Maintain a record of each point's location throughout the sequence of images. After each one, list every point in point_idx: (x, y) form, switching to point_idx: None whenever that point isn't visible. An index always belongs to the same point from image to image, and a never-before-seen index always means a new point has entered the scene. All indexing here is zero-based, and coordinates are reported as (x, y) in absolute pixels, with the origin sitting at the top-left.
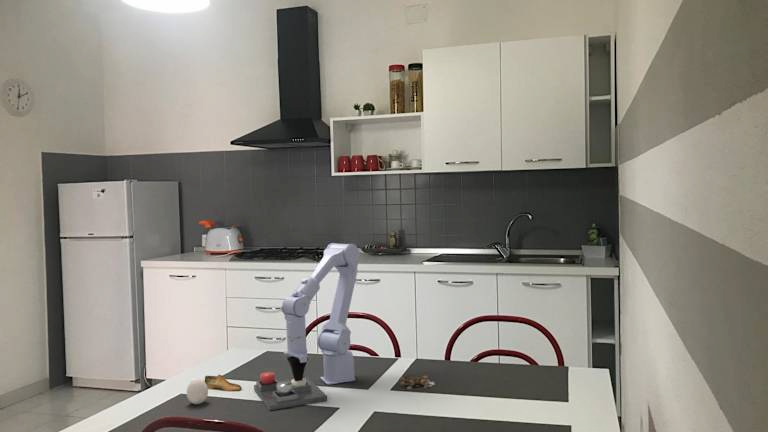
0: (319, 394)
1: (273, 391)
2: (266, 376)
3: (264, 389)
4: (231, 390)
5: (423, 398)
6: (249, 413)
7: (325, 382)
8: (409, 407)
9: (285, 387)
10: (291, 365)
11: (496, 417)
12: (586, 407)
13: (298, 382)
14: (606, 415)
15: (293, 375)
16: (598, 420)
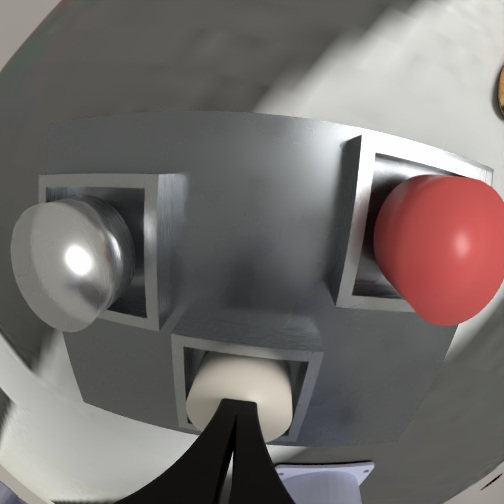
0: (104, 394)
1: (293, 223)
2: (415, 215)
3: (349, 168)
4: (502, 72)
5: (73, 480)
6: (95, 32)
7: (302, 467)
8: (31, 443)
9: (16, 255)
10: (208, 495)
11: (5, 451)
12: (36, 492)
13: (187, 398)
14: (19, 481)
15: (243, 424)
16: (8, 471)
